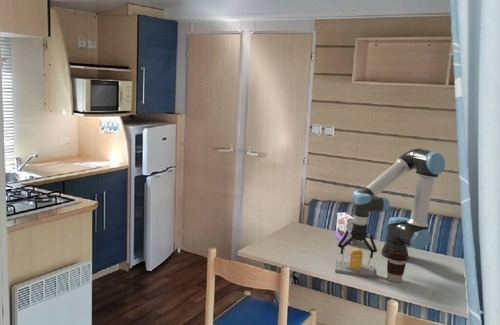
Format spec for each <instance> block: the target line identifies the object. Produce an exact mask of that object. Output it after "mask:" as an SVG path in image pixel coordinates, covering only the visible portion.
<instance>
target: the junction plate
mask: <svg viewBox="0 0 500 325" xmlns="http://www.w3.org/2000/svg"><path fill="white" fill-rule="evenodd" d="M349 263H350V261H344V260H343V261H342V260H336V261H335V268H334V270H335V272H334V273H338V274H345V275H351V276H356V275H358V276H357V277H365V278H369V277H370V278H369V279H375V276H376V274H375V266H374V265H371V264H369V265H368V264H363V263H362V265H361V271H360V270H353V269H349Z"/></svg>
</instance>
